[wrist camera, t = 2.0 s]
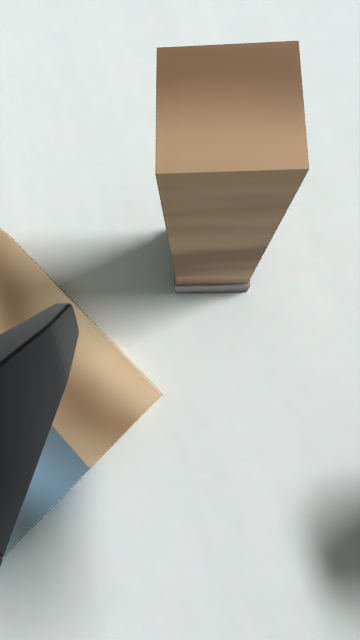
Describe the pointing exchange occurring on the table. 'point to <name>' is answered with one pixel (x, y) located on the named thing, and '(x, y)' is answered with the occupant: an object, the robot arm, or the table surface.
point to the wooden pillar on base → (227, 156)
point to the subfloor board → (70, 388)
